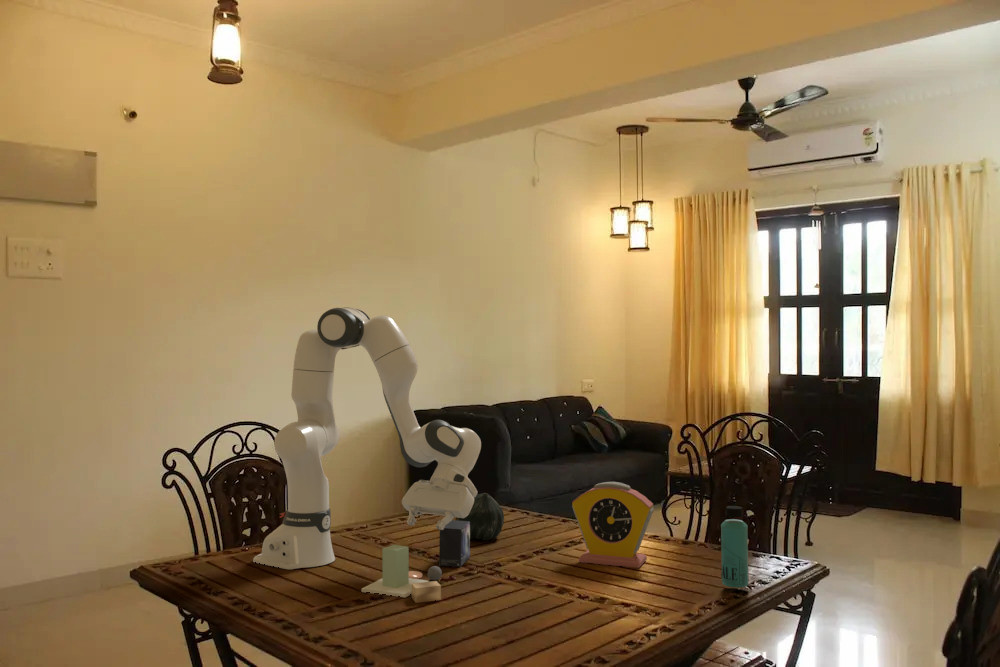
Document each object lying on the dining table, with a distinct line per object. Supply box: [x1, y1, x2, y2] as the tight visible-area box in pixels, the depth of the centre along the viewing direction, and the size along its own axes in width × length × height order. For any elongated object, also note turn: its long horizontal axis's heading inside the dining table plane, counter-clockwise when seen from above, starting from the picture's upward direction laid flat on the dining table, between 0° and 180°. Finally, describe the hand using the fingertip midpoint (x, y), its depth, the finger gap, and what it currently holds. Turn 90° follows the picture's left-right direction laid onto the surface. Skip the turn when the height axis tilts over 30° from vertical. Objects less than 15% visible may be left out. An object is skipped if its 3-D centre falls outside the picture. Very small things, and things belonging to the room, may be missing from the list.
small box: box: [438, 519, 471, 568], centre depth 224 cm, size 11×6×10 cm, turn 168°
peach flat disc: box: [409, 570, 423, 579], centre depth 210 cm, size 7×7×1 cm
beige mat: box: [361, 577, 430, 598], centre depth 200 cm, size 12×12×1 cm
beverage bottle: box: [720, 505, 750, 588], centre depth 197 cm, size 6×7×20 cm
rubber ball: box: [427, 565, 443, 582], centre depth 206 cm, size 4×4×4 cm
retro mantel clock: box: [571, 481, 655, 569], centre depth 223 cm, size 22×9×22 cm, turn 68°
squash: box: [454, 492, 505, 542], centre depth 251 cm, size 14×15×15 cm
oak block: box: [411, 580, 442, 604], centre depth 191 cm, size 6×4×4 cm, turn 110°
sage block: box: [381, 544, 410, 588], centre depth 200 cm, size 4×4×9 cm
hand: (424, 526), depth 210 cm, fingers open, 8 cm apart
